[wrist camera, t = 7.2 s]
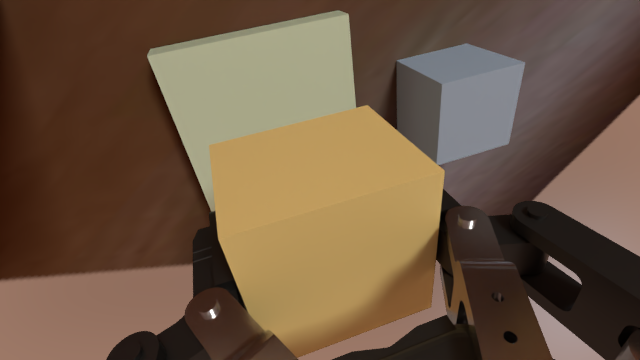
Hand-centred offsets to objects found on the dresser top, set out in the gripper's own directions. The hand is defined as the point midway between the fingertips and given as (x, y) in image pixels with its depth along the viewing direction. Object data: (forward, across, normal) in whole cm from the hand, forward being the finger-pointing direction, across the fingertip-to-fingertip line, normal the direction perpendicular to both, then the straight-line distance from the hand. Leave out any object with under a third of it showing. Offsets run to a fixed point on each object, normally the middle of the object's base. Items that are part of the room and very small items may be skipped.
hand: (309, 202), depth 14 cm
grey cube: (+9, -11, +1) cm, 14 cm away
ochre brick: (+1, 0, 0) cm, 1 cm away
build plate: (+9, 0, 0) cm, 9 cm away
